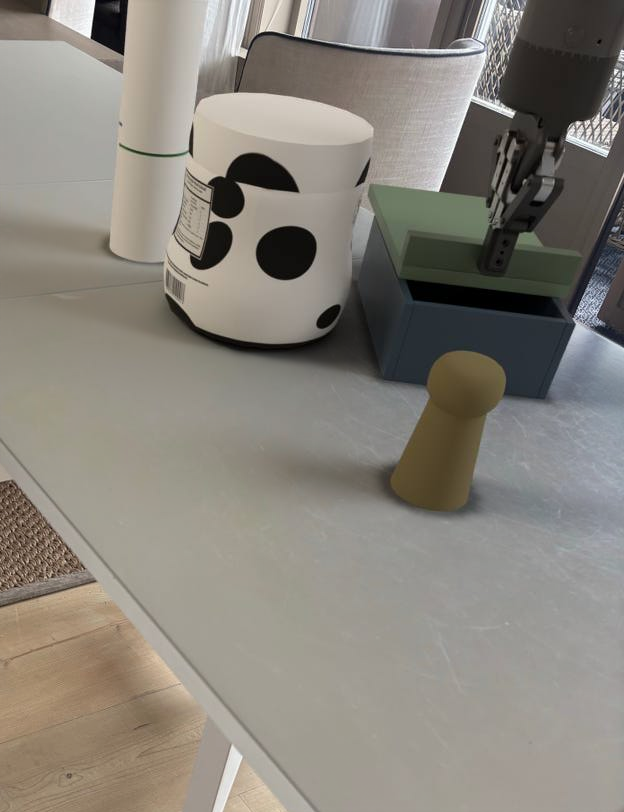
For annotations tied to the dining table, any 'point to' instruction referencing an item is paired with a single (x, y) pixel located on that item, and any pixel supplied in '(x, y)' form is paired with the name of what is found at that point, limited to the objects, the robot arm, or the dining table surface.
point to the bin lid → (462, 243)
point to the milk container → (267, 219)
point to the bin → (459, 325)
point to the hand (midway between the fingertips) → (489, 272)
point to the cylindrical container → (155, 123)
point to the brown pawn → (449, 431)
